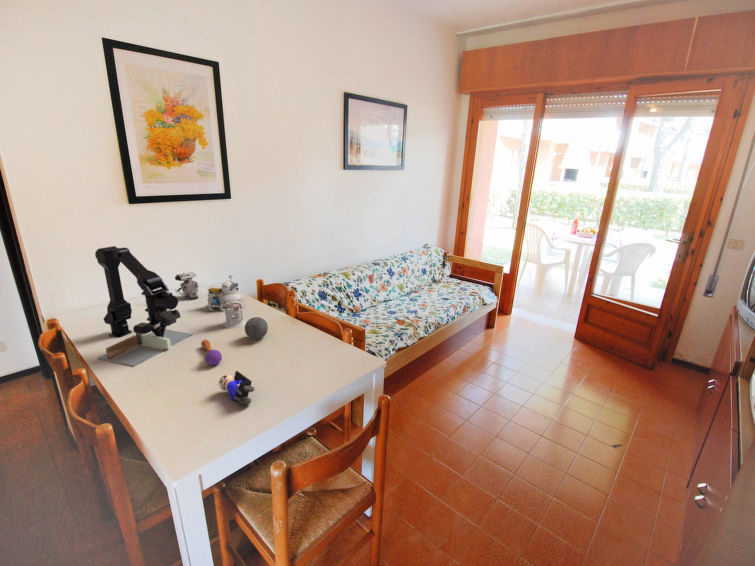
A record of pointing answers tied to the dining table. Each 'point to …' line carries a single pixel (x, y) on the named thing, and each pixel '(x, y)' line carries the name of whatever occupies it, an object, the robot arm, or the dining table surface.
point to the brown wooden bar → (124, 346)
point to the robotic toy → (221, 295)
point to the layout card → (146, 349)
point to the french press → (236, 320)
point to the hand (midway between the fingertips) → (161, 340)
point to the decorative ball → (256, 328)
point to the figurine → (188, 285)
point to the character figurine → (237, 387)
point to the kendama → (211, 354)
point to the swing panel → (156, 341)
